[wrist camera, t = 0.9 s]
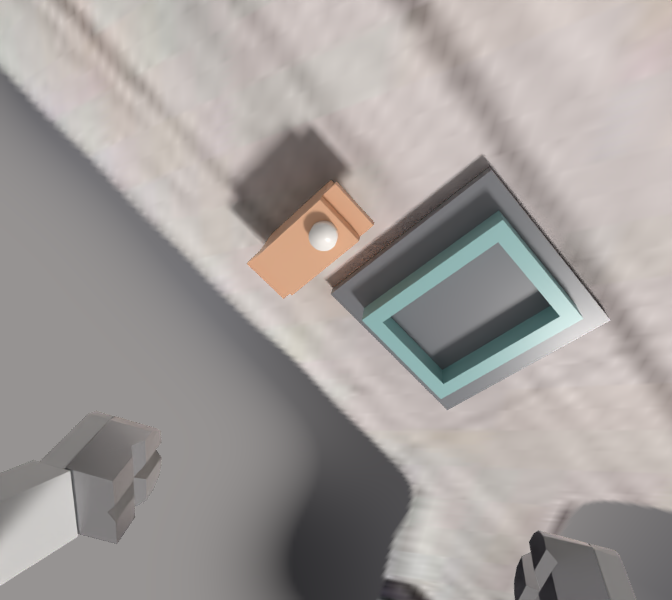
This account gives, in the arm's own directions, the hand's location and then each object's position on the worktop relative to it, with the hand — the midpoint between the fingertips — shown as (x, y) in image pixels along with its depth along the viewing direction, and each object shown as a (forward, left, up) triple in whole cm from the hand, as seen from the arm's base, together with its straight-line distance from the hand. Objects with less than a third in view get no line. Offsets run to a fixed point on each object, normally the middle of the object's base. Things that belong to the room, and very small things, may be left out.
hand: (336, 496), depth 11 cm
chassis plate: (+13, -3, -30) cm, 33 cm away
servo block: (0, -8, -30) cm, 31 cm away
